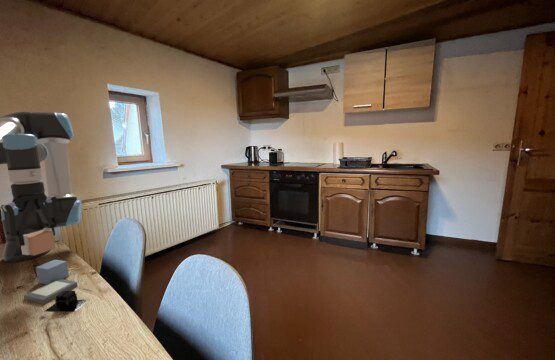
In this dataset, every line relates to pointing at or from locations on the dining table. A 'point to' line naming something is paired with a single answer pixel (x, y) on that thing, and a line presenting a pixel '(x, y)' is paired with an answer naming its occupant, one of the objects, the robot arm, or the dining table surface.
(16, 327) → the dining table surface
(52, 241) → the terracotta block
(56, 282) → the blueprint board
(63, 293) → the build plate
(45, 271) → the blue block
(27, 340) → the dining table surface
